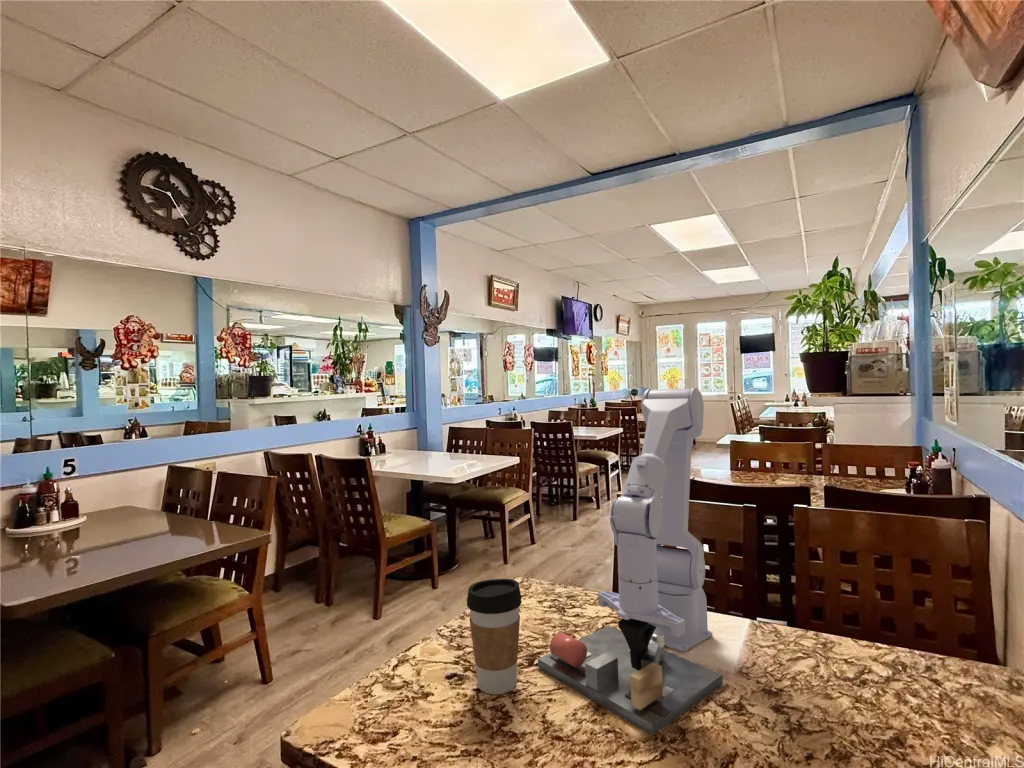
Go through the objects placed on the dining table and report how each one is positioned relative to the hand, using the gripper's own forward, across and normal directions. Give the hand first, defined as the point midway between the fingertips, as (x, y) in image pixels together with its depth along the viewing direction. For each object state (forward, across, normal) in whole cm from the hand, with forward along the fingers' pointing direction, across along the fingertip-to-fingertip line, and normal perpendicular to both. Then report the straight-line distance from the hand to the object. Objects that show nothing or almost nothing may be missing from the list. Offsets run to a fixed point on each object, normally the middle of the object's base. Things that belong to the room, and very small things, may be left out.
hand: (640, 667), depth 79 cm
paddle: (0, +5, -5) cm, 8 cm away
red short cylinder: (0, -9, -6) cm, 11 cm away
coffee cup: (+3, -15, -16) cm, 22 cm away
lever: (0, +1, +2) cm, 2 cm away
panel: (+2, -3, 0) cm, 4 cm away
